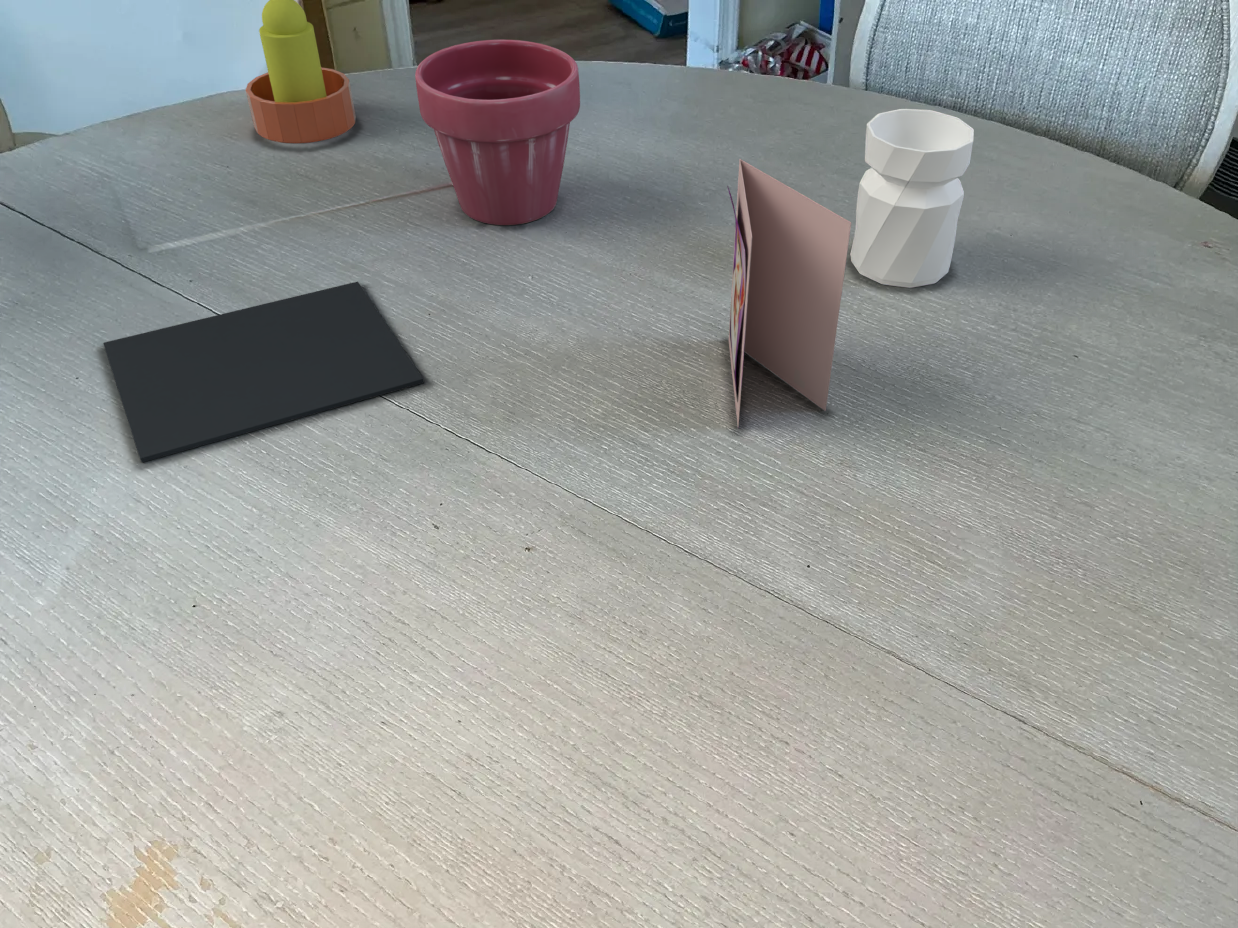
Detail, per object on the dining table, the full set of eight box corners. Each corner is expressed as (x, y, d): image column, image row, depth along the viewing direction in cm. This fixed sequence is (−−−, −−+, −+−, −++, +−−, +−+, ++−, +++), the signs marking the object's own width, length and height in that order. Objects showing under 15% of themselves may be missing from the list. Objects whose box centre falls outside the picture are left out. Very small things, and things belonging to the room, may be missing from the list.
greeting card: (717, 339, 87) (727, 158, 77) (810, 340, 88) (832, 159, 78) (725, 428, 79) (737, 237, 69) (829, 428, 79) (856, 238, 69)
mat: (141, 463, 75) (139, 458, 74) (104, 346, 85) (102, 342, 85) (424, 383, 82) (423, 378, 82) (358, 285, 93) (357, 281, 92)
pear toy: (287, 136, 113) (256, -6, 104) (274, 118, 117) (243, -21, 108) (337, 127, 115) (311, -13, 106) (323, 109, 119) (296, -28, 110)
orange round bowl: (270, 155, 111) (260, 111, 108) (245, 118, 118) (235, 76, 115) (369, 136, 115) (361, 93, 112) (339, 101, 122) (332, 60, 119)
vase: (969, 273, 96) (999, 140, 88) (888, 297, 93) (911, 160, 85) (908, 230, 102) (930, 101, 94) (829, 251, 98) (845, 119, 91)
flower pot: (537, 253, 97) (527, 110, 89) (403, 220, 101) (380, 80, 93) (609, 188, 107) (606, 53, 99) (484, 160, 111) (470, 29, 103)
